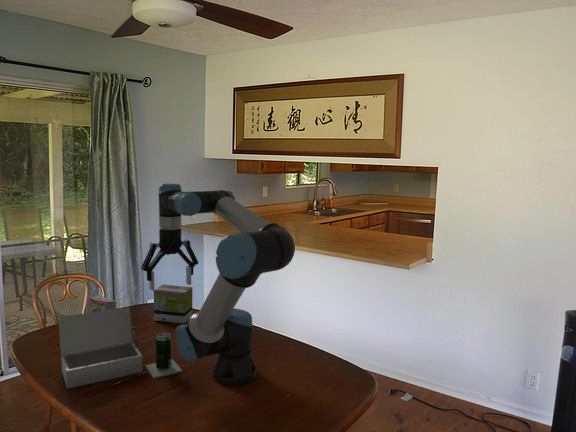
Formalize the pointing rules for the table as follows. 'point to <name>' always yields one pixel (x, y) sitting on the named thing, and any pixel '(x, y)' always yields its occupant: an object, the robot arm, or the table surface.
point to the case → (98, 334)
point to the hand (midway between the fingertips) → (170, 286)
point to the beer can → (163, 351)
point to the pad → (158, 373)
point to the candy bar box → (101, 304)
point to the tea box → (173, 303)
